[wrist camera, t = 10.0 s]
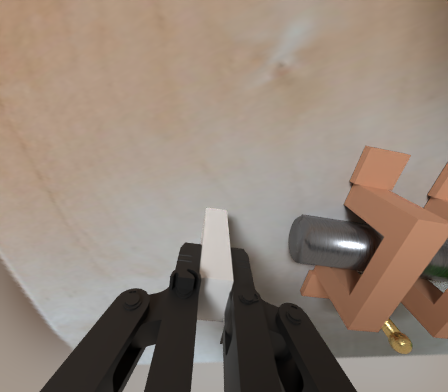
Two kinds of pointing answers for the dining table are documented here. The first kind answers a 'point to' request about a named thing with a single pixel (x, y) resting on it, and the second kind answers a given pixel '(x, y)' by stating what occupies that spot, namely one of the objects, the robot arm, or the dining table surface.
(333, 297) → the collar
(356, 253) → the tube
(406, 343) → the pointer post
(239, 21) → the dining table surface
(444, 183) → the collar
